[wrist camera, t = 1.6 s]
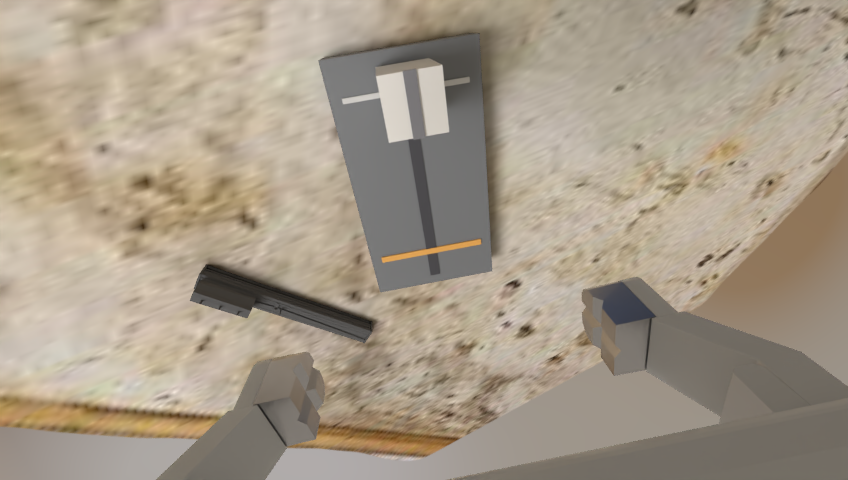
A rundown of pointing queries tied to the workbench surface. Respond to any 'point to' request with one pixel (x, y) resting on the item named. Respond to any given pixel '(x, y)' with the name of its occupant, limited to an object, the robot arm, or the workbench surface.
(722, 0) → the workbench surface
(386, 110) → the fader cap
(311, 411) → the robot arm
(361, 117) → the slider console
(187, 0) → the workbench surface
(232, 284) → the dark grey bar
